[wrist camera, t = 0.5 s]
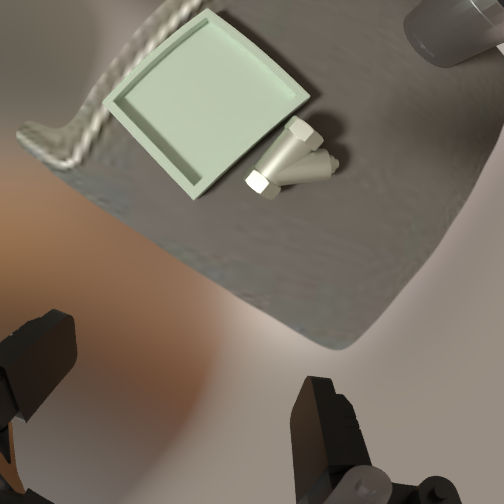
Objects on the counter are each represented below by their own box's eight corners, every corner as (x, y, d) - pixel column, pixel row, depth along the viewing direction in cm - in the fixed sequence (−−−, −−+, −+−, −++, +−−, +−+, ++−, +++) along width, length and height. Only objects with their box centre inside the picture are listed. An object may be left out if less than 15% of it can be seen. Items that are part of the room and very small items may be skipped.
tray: (209, 16, 26) (207, 8, 24) (307, 101, 28) (310, 96, 26) (109, 106, 28) (102, 102, 26) (197, 199, 31) (193, 200, 29)
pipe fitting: (338, 155, 29) (291, 114, 27) (352, 164, 26) (301, 117, 24) (290, 208, 32) (242, 173, 30) (298, 223, 29) (244, 184, 26)
